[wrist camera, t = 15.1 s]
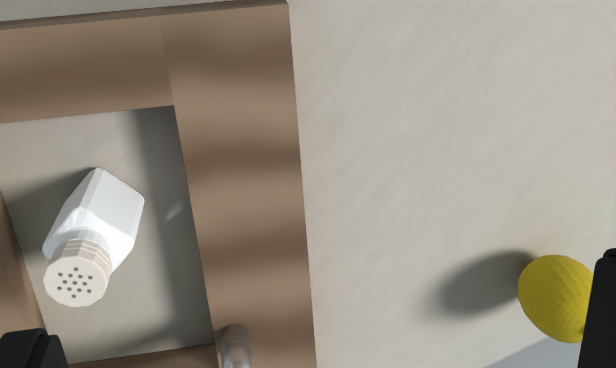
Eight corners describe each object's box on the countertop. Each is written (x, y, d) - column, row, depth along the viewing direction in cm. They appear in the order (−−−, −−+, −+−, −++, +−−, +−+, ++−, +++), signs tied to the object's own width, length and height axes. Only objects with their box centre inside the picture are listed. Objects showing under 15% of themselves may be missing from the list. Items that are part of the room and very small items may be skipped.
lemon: (502, 303, 47) (553, 374, 40) (498, 246, 45) (551, 311, 38) (568, 285, 48) (631, 353, 40) (567, 228, 45) (633, 289, 38)
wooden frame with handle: (-188, 38, 32) (-224, 50, 30) (282, -4, 35) (288, 3, 32) (-19, 429, 46) (-34, 462, 43) (313, 378, 48) (319, 406, 45)
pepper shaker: (61, 204, 39) (17, 289, 30) (97, 160, 38) (62, 235, 29) (113, 237, 40) (86, 326, 32) (149, 195, 39) (130, 276, 31)
